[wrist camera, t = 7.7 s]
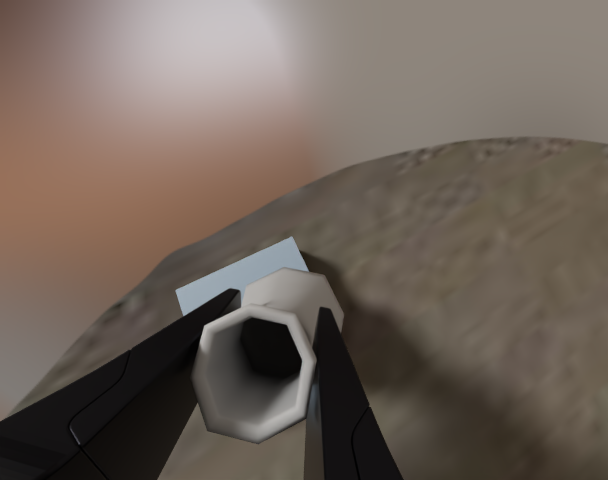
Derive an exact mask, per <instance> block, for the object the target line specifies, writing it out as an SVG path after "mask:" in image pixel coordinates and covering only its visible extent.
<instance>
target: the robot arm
mask: <svg viewBox="0 0 608 480" xmlns="http://www.w3.org/2000/svg"><path fill="white" fill-rule="evenodd" d="M239 308H241V291H240V290H238V289H233V288H229V289H227V290H225V291H224V292H222V293H220V294H219V295H217V296H215V297H214V298H212V299H211V300H209V301H207V302H206V303H204V304H202V305H201V306H199V307H198V308H196V309H194V310H193V311H191V312H189V313H188V314H186V315H185V316H183V317H181V318H180V319H178V320H176V321H175V322H173V323H172V324H170V325H168V326H167V327H165V328H163V329H162V330H160V331H159V332H157V333H155V334H154V335H152V336H150V337H149V338H147V339H146V340H144V341H142V342H141V343H139V344H138V345H136V346H134V347H133V348H132V349H131V350H128V351H126V352H124V353H123V354H121V355H119V356H118V357H116V358H115V359H113V360H111V361H110V362H108V363H106V364H104V365H103V366H101V367H99V368H98V369H96V370H94V371H93V372H91V373H89V374H87V375H85V376H84V377H82V378H80V379H78V380H76V381H75V382H73V383H71V384H69V385H67V386H66V387H64V388H62V389H60V390H58V391H56V392H54V393H52V394H51V395H49V396H47V397H45V398H43V399H41V400H39V401H37V402H36V403H34V404H32V405H30V406H28V407H26V408H24V409H22V410H21V411H19V412H17V413H15V414H13V415H11V416H9V417H7V418H6V419H4V420H2V421H0V480H157V479H158V477H159V475H160V473H161V471H162V469H163V467H164V466H165V464H166V462H167V460H168V458H169V456H170V454H171V452H172V450H173V448H174V447H175V445H176V443H177V441H178V439H179V437H180V435H181V433H182V431H183V429H184V427H185V426H186V424H187V422H188V420H189V418H190V416H191V414H192V412H193V410H194V408H195V407H196V405H197V403H198V401H197V398H196V395H195V392H194V389H193V385H192V382H191V379H190V376H191V372H192V369H193V365H194V362H195V358H196V354H197V351H198V347H199V343H200V340H201V336H202V332H203V329H204V326H205V325H207V324H209V323H211V322H213V321H215V320H217V319H219V318H221V317H223V316H225V315H227V314H229V313H231V312H233V311H235V310H237V309H239ZM312 349H313V351H314V354H315V356H316V358H317V362H316V368H315V373H314V379H313V385H312V391H311V397H310V403H309V409H308V415H307V418H306V438H305V460H304V480H404V479H403V477H402V475H401V473H400V471H399V469H398V467H397V465H396V463H395V461H394V459H393V457H392V455H391V453H390V451H389V449H388V447H387V444H386V442H385V440H384V438H383V435H382V433H381V431H380V428H379V426H378V424H377V421H376V419H375V416H374V414H373V411H372V409H371V407H369V402H368V399H367V397H366V394H365V392H364V389H363V387H362V384H361V382H360V379H359V377H358V375H357V372H356V370H355V367H354V365H353V362H352V360H351V357H350V355H349V352H348V350H347V347H346V345H345V342H344V340H343V337H342V335H341V332H340V330H339V327H338V325H337V322H336V320H335V318H334V315H333V313H332V310H331V309H330V308H326V307H322V306H321V307H319V311H318V316H317V321H316V326H315V332H314V339H313V345H312Z"/></svg>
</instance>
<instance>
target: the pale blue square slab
mask: <svg viewBox="0 0 608 480" xmlns="http://www.w3.org/2000/svg"><path fill="white" fill-rule="evenodd" d="M283 267H287V268H292V269H297V270H302V271H308V269H307V266H306V264H305V262H304V260H303V258H302V256H301V254H300V252H299V250H298V248H297V246H296V243H295V241H294V239H293V237H290V238H288V239H286V240H283V241H281V242H279V243H277V244H275V245H273V246H270V247H268V248H266V249H264V250H262V251H260V252H257V253H255V254H253V255H251V256H249V257H246V258H244V259H242V260H240V261H238V262H236V263H233V264H231V265H229V266H227V267H225V268H223V269H220V270H218V271H216V272H214V273H212V274H210V275H207V276H205V277H203V278H201V279H199V280H197V281H194V282H192V283H190V284H188V285H186V286H184V287H181V288H179V289H177V290H176V293H177V297H178V300H179V303H180V306H181V310H182V313H183V316H185V315H186V314H188V313H189V312H191V311H193V310H194V309H196V308H198V307H199V306H201V305H202V304H204V303H206V302H207V301H209V300H211V299H212V298H214V297H215V296H217V295H219V294H220V293H222V292H224V291H225V290H227V289H229V288H233V289H238V290H240V291H241V305H242V301H243V297H244V293H245V289H246V285H248V284H250V283H252V282H254V281H256V280H258V279H260V278H262V277H264V276H266V275H268V274H270V273H272V272H274V271H277V270H279V269H281V268H283ZM308 272H309V271H308Z"/></svg>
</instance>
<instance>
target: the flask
mask: <svg viewBox="0 0 608 480" xmlns="http://www.w3.org/2000/svg"><path fill="white" fill-rule="evenodd" d="M321 306H322V307H326V308H330V309H331V310H332V313H333V315H334V318H335V320H336V322H337V325H338V327H339V330H340V332H341V331H342V325H343V318H344V313H343V311H342V309H341V307H340V305H339V303H338V301H337V299H336V297H335V295H334V293H333V291H332V289H331V287H330V285H329V283H328V281H327V279H326V277H325V275H323V274H318V273H313V272H308V271H302V270H297V269H292V268H287V267H283V268H281V269H279V270H277V271H274V272H272V273H270V274H268V275H266V276H264V277H262V278H260V279H258V280H256V281H254V282H252V283H250V284H248V285H246V289H245V293H244V297H243V301H242V305H241V308H239V309H237V310H235V311H233V312H231V313H229V314H227V315H225V316H223V317H221V318H219V319H217V320H215V321H213V322H211V323H209V324H207V325H205V326H204V329H203V332H202V336H201V340H200V343H199V347H198V351H197V354H196V358H195V362H194V365H193V369H192V372H191V376H190V379H191V382H192V385H193V389H194V392H195V395H196V398H197V401H198V404H199V407H200V410H201V413H202V416H203V419H204V422H205V425H206V428H207V431H209V432H213V433H217V434H221V435H225V436H229V437H233V438H237V439H240V440H244V441H248V442H252V443H256V444H260V443H262V442H263V441H265V440H267V439H269V438H271V437H273V436H275V435H276V434H278V433H280V432H282V431H284V430H286V429H288V428H290V427H291V426H293V425H295V424H297V423H299V422H301V421H303V420H305V419H306V418H307V415H308V409H309V403H310V397H311V391H312V385H313V379H314V373H315V368H316V362H317V358H316V356H315V354H314V351H313V349H312V345H313V339H314V332H315V326H316V321H317V316H318V311H319V307H321Z"/></svg>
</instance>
